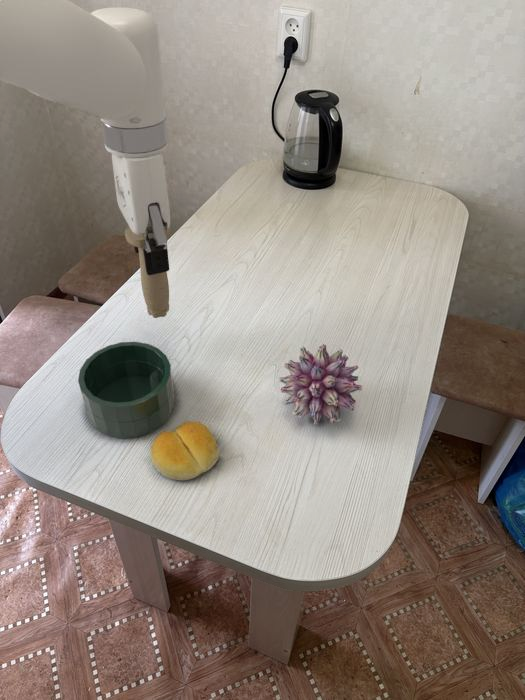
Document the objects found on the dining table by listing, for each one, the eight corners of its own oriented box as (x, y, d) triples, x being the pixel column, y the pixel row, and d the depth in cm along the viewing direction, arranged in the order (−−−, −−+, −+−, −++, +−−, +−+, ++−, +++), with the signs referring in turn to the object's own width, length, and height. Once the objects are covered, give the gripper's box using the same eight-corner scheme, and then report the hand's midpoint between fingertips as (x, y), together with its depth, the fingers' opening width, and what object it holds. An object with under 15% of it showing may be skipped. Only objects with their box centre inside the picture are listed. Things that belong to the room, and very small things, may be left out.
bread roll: (143, 448, 70) (139, 430, 67) (201, 423, 74) (200, 405, 71) (166, 494, 65) (163, 477, 62) (228, 465, 69) (228, 448, 66)
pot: (98, 450, 70) (89, 418, 65) (80, 387, 78) (70, 355, 73) (185, 421, 74) (182, 389, 69) (160, 365, 82) (155, 332, 77)
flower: (362, 419, 77) (317, 456, 69) (302, 377, 83) (254, 406, 75) (389, 361, 71) (343, 395, 63) (322, 319, 76) (272, 344, 68)
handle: (132, 314, 79) (117, 230, 69) (164, 297, 82) (155, 213, 72) (152, 329, 77) (140, 243, 66) (184, 310, 80) (177, 226, 70)
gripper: (88, 112, 65) (111, 237, 77) (122, 166, 54) (142, 301, 66) (145, 106, 67) (159, 227, 80) (189, 156, 56) (197, 288, 69)
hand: (151, 260), depth 73 cm, fingers closed on handle, 5 cm apart
